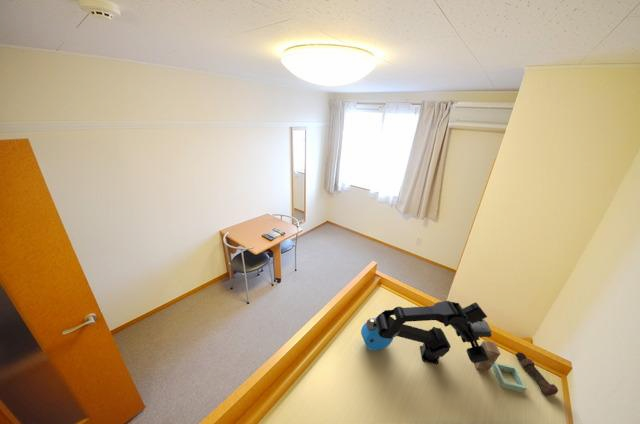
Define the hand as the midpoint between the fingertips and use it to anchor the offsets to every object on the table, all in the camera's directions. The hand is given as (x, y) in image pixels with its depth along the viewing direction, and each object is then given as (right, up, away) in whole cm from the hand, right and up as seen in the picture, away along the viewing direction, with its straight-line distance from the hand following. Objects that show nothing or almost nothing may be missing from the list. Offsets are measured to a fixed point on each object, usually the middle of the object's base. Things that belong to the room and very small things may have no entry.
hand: (480, 349), depth 92 cm
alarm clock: (-41, -4, +9) cm, 42 cm away
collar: (+10, -12, 0) cm, 16 cm away
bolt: (+23, -12, +2) cm, 26 cm away
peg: (+2, -9, +4) cm, 10 cm away
